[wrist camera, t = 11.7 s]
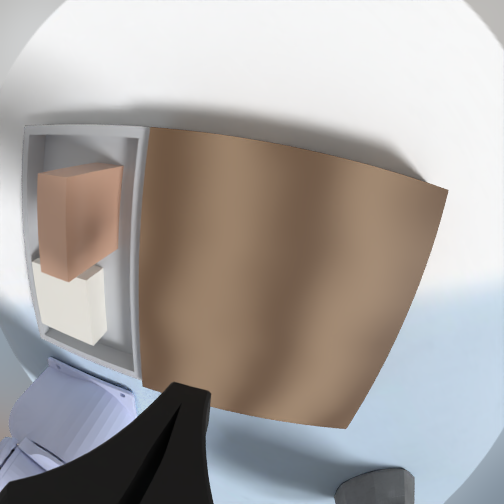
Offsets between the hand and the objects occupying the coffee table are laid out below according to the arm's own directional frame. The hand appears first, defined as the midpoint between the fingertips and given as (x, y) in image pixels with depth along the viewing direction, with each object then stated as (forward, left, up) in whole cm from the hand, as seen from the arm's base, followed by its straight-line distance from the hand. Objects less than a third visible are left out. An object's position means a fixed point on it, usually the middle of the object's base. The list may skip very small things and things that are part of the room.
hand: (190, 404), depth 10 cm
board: (+2, +1, -9) cm, 9 cm away
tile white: (-11, -3, -6) cm, 13 cm away
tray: (-10, +1, -9) cm, 13 cm away
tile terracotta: (-7, +4, -6) cm, 10 cm away
